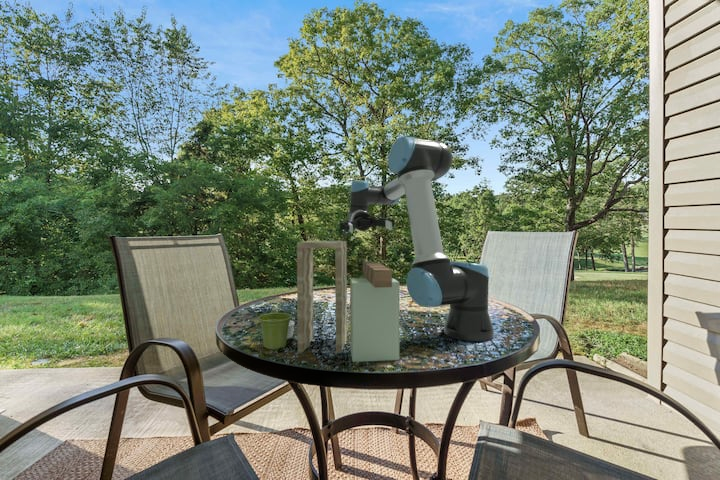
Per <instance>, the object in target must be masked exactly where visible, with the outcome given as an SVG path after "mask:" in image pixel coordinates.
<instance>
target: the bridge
mask: <svg viewBox="0 0 720 480" xmlns="http://www.w3.org/2000/svg"><path fill="white" fill-rule="evenodd" d="M347 243H348V242H347V240H305V241H298V242H296V276H297V277H296V284H297V285H296V286H297V287H296V288H297V294H296V295H297V297H296V299H297V300H296V301H297V304H296V305H297V306H296V307H297V308H296V309H297V313H296V315H297V353H304V352H305V350H306V349H307V347H308V346H309V344H310V343H311V341H312V340H313V338H314V329H315V328H314V249H334V250H335V251H334V253H335V255H334V256H335V257H334V258H335V260H334V261H335V262H334V263H335V265H334V266H335V354H342V353H343V350H344V346H345V344H346V341H347V339H348V287H347V286H348V283H347V282H348V277H347V276H348V275H347V273H348V265H347V264H348V260H347V259H348V252H347V251H348V248H347V247H348V245H347Z"/></svg>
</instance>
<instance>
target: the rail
mask: <svg viewBox="0 0 720 480" xmlns="http://www.w3.org/2000/svg"><path fill="white" fill-rule="evenodd" d="M362 276H363V277H364V279H367V280H368V281H369V282H370V283H371V284H372V285H373V286H374V287H375V288H378V287H392V278H393V270H392V269H391V268H390V267H387V266H385V265H384V264H382V263H380V262H378V261H362Z"/></svg>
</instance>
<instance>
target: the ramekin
mask: <svg viewBox="0 0 720 480" xmlns="http://www.w3.org/2000/svg"><path fill="white" fill-rule="evenodd" d="M294 328H295V321H293V320H291V319H290V323H289V326H288V333H287V340H288V339H291V338H292V337H293V336H294V331H295V330H294Z"/></svg>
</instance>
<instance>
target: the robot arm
mask: <svg viewBox="0 0 720 480" xmlns="http://www.w3.org/2000/svg"><path fill="white" fill-rule="evenodd" d="M452 164H453V153H452V151H451V149H450V148H449V146H448V145H447V144H445V143H444V142H442V141H440V140H433V139H424V138H418V137H414V136H400V137H398V138H397V139H395V141H394V142H393V143H392V145H391V148H390V150H389V153H388V157H387V166H388V169H389V171H390V172H391V173H393V174H395V175H396V174H397V177H396V178H394V179H392V180H391V181H389V182H388V183H386V184H385V185H383V186H380V185H379V186H377V185H370V182H369V181H368V180H356V179H355V180H353V181H351V185H350V196H349V197H350V198H349V200H350V203H349V209H348V210H349V211H348V214H347V219H346V220H344V221H341V222H339V230H340V231H344V232H345V233H348V232H349V233H350V234H354V229H356V230H358V231H361V232H365V231H367V230H369V229H370V228H376V227H383V228H386V229H387V230H388V231H393V227H395V219H392V218H390V217H388V218H383V217H377V218H376V217H372V216H371V215H370V214H369V213H368V204H372V205H373V204H375V205H396V204H397V203H398V202H399V201H400V198H401V197H402V196H404V195H405V201H406V206H407V207H406V208H407V212H408V219H409V226H410V231H411V238H412V243H413V249H414V250H413V251H414V256H415V259H414V260H413V261H412V263H411V269H410V270H409V271H408V273H407V275H406V276H407V278H406V280H405V281H406V289H407V292H408V295H409V296H410V298H411V300H412V301H413V302H415V304H417V305H418V306H420V307H423V308H436V307H442V306H449V311H448V314H447V317H446V320H445V322H444V326H443V327H444V328H443V329H444V331H443V332H444V335H446V336H447V337H449V338H452V339H454V340H459V341H465V342H484V341H485V342H486V341H490V340H492V339H494V337H495V331H494V330H495V329H494V327H493V323H492V319H491V317H490V314H489V281H490V277H489V268H488V267H487V265H485V264H482V263H474V262H464V261H456V260H451V258H450V257H449V256H447V255H446V254H445V253H444V247H443V242H442V238H441V237H442V236H441V231H440V226H439V219H438V214H437V208H436V202H435V197H434V191H433V185H432V182H435V181H437V180H440V179H441V178H442V177H444V176H445V175H447V173H448V172H449V171H450V170H451V168H452Z"/></svg>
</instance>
